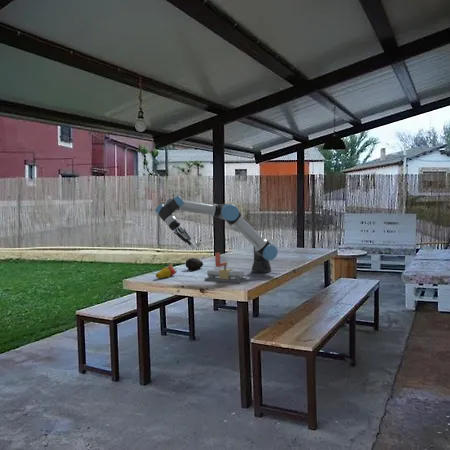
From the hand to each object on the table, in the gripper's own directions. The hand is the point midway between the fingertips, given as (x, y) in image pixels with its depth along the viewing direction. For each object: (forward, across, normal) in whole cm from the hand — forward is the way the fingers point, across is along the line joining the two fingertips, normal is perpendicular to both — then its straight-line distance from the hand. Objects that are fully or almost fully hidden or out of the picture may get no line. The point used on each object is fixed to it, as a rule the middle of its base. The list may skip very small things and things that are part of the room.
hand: (194, 248), depth 329 cm
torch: (-5, -12, -38) cm, 40 cm away
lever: (+20, -8, +3) cm, 22 cm away
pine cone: (-3, -53, -37) cm, 64 cm away
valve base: (+28, -14, -5) cm, 32 cm away
